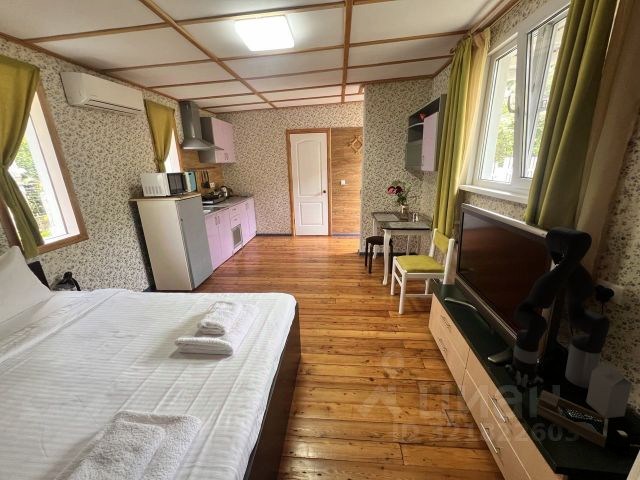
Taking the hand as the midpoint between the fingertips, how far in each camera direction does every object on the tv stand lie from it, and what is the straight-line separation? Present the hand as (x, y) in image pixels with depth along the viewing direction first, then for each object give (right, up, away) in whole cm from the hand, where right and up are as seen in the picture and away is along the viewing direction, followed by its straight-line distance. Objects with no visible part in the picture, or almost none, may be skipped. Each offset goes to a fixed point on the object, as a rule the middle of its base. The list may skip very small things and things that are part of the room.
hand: (521, 391), depth 108 cm
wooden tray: (+10, -5, -10) cm, 15 cm away
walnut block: (+6, -3, -6) cm, 9 cm away
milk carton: (+26, -3, -8) cm, 27 cm away
